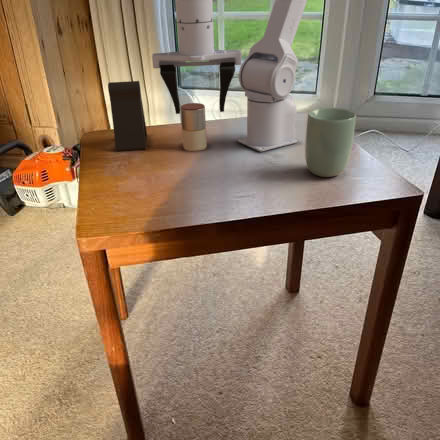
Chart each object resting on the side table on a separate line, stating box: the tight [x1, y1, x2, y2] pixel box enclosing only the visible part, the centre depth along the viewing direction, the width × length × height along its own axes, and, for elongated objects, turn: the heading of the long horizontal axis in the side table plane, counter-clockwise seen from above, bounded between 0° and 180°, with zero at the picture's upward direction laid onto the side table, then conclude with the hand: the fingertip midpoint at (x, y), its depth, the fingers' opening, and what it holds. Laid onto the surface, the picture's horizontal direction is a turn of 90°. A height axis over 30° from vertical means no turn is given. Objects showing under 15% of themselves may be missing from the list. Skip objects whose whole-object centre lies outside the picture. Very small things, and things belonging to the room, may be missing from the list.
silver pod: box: [180, 102, 207, 131], centre depth 89 cm, size 5×5×4 cm
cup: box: [304, 107, 357, 178], centre depth 76 cm, size 8×8×10 cm
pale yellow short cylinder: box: [181, 126, 208, 152], centre depth 91 cm, size 5×5×4 cm
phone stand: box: [107, 80, 148, 152], centre depth 92 cm, size 9×6×12 cm, turn 5°
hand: (199, 111), depth 79 cm, fingers open, 7 cm apart
